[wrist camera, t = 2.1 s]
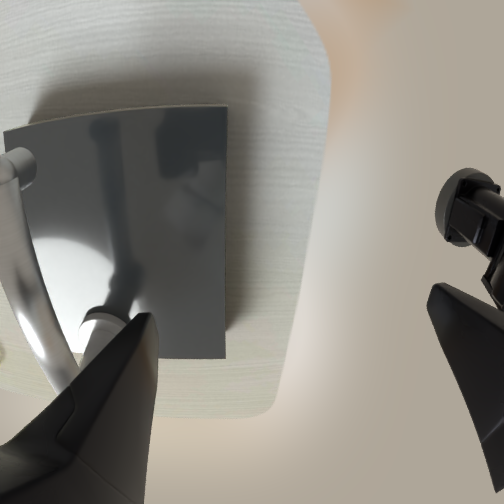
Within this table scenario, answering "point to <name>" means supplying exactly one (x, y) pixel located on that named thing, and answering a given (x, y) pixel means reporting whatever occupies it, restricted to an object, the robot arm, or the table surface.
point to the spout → (29, 274)
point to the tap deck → (132, 223)
